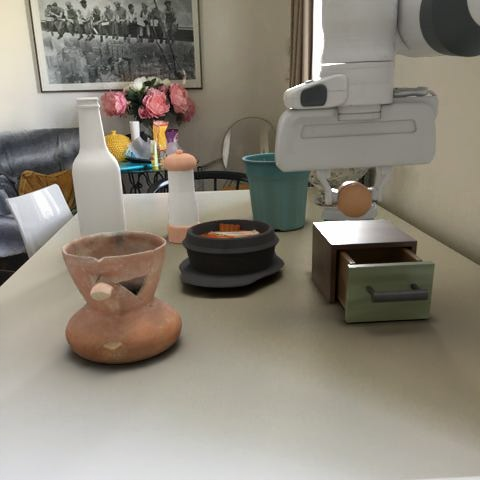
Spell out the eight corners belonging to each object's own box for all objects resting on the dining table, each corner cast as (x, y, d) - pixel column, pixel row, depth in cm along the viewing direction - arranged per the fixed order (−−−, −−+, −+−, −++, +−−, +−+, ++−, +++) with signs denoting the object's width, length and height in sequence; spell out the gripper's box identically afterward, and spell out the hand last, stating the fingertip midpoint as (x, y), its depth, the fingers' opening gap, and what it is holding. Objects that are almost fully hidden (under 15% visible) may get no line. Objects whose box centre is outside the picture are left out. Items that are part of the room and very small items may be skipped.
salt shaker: (167, 236, 128) (160, 148, 121) (199, 234, 129) (194, 147, 122) (169, 244, 122) (162, 152, 114) (203, 242, 123) (198, 150, 115)
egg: (330, 211, 78) (331, 179, 76) (362, 210, 78) (363, 177, 76) (341, 222, 72) (342, 187, 70) (375, 220, 72) (377, 185, 71)
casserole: (203, 253, 114) (201, 211, 111) (295, 257, 110) (295, 214, 107) (156, 294, 92) (151, 244, 89) (268, 302, 88) (267, 249, 84)
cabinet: (411, 302, 85) (417, 240, 82) (329, 307, 85) (331, 244, 81) (383, 273, 99) (386, 219, 95) (311, 277, 98) (312, 222, 95)
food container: (343, 267, 103) (345, 212, 99) (320, 260, 108) (321, 207, 104) (388, 254, 110) (392, 202, 106) (364, 248, 114) (367, 198, 110)
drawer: (441, 330, 73) (448, 273, 70) (354, 335, 73) (357, 277, 70) (397, 286, 90) (401, 238, 87) (326, 290, 89) (327, 241, 86)
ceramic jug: (172, 380, 65) (162, 261, 59) (48, 381, 66) (27, 263, 60) (192, 320, 81) (185, 223, 76) (93, 321, 82) (79, 225, 77)
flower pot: (247, 235, 127) (245, 161, 121) (241, 220, 142) (239, 153, 136) (319, 232, 128) (321, 158, 122) (306, 217, 143) (306, 150, 137)
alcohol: (93, 254, 116) (72, 97, 105) (135, 254, 115) (118, 96, 104) (77, 266, 108) (53, 98, 97) (122, 266, 107) (103, 97, 96)
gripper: (430, 85, 73) (421, 194, 78) (271, 93, 72) (274, 202, 77) (450, 85, 67) (439, 202, 72) (277, 94, 66) (280, 212, 71)
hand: (352, 202), depth 74 cm, fingers closed on egg, 4 cm apart
